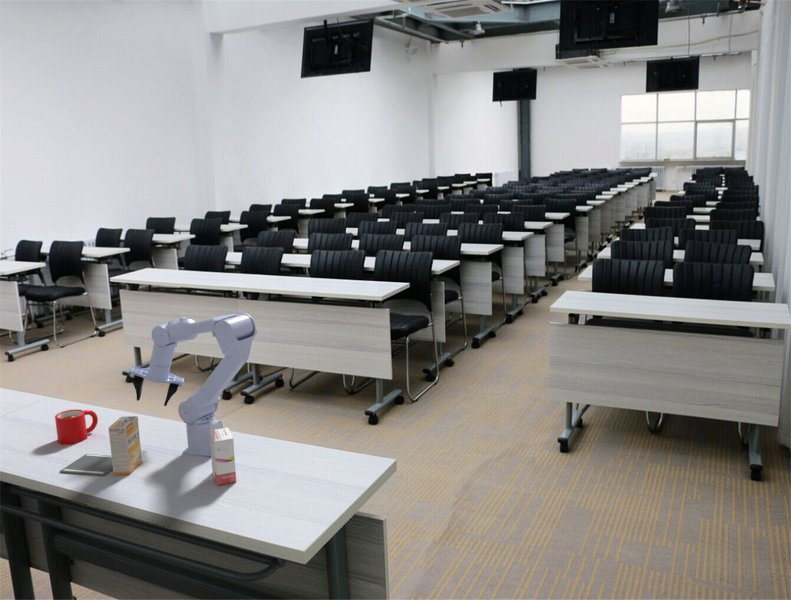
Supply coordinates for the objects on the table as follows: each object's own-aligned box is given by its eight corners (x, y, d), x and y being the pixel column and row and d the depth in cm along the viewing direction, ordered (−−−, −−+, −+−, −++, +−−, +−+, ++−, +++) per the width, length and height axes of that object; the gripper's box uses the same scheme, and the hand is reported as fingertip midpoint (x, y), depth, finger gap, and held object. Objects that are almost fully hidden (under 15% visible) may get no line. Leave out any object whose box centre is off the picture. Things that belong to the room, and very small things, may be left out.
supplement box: (131, 474, 180) (126, 427, 177) (112, 475, 180) (107, 427, 177) (143, 461, 188) (138, 415, 185) (125, 461, 188) (120, 415, 186)
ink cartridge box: (237, 482, 174) (233, 427, 171) (217, 486, 173) (212, 430, 170) (231, 468, 182) (227, 415, 179) (212, 472, 180) (207, 418, 177)
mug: (105, 433, 208) (102, 408, 207) (67, 446, 199) (63, 420, 197) (91, 427, 213) (88, 403, 211) (52, 440, 203) (49, 415, 202)
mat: (128, 458, 190) (128, 456, 190) (103, 476, 180) (103, 474, 179) (86, 455, 193) (86, 453, 193) (59, 472, 182) (59, 470, 182)
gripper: (189, 360, 201) (179, 398, 206) (137, 349, 198) (129, 388, 203) (185, 372, 195) (175, 412, 200) (132, 361, 191) (123, 402, 196)
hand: (152, 401), depth 201 cm, fingers open, 7 cm apart
